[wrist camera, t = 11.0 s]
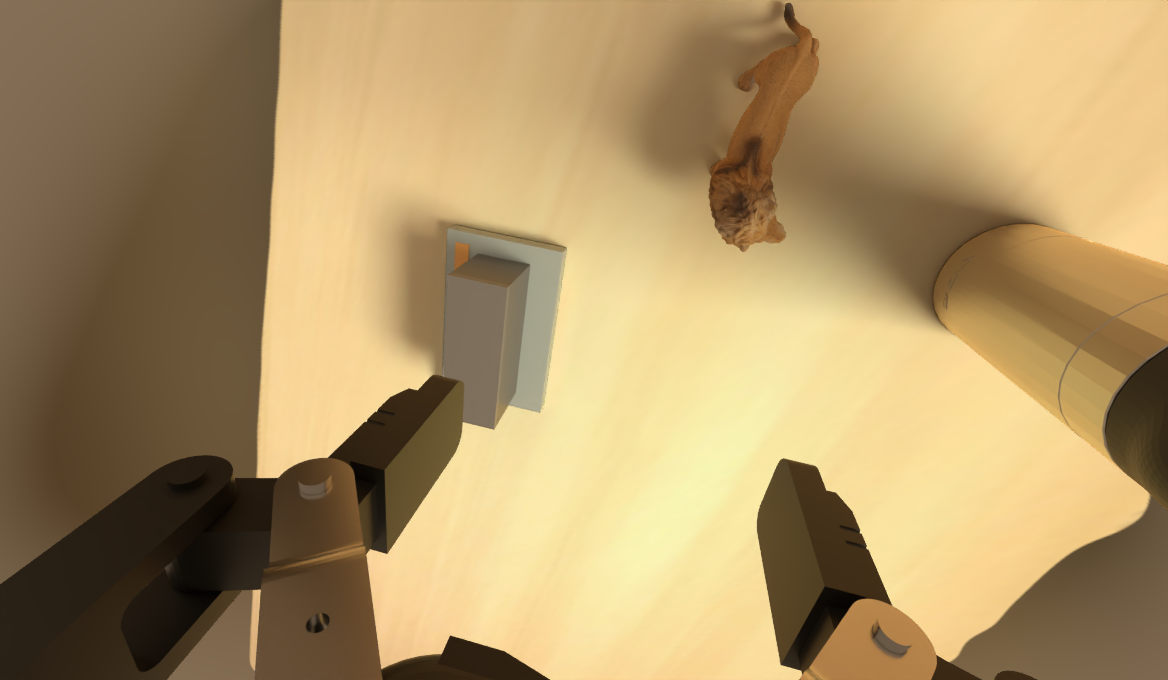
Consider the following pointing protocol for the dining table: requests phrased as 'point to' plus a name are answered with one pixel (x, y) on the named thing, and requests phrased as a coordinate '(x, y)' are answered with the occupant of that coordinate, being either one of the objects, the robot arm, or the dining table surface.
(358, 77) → the dining table surface
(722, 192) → the lion figurine
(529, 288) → the board
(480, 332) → the block
